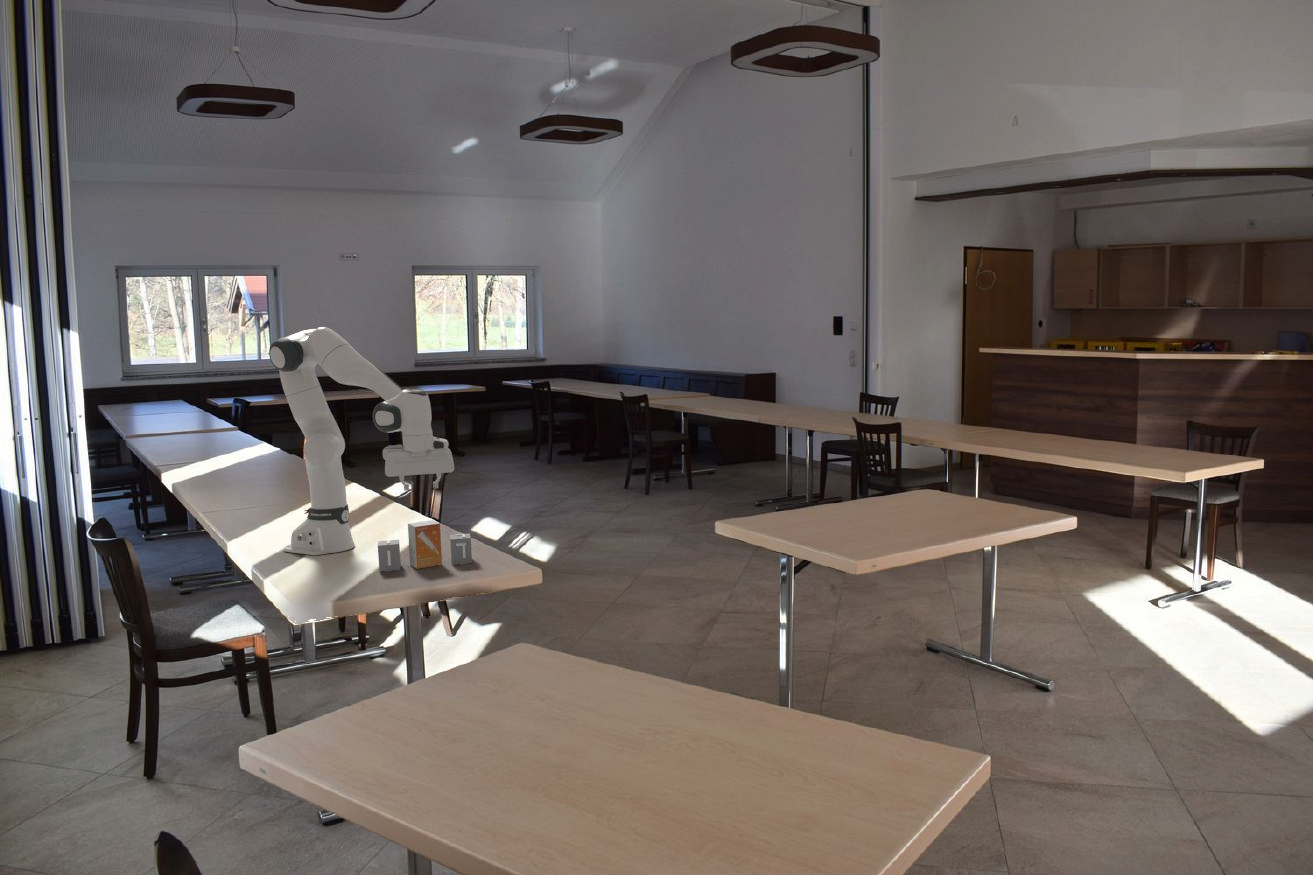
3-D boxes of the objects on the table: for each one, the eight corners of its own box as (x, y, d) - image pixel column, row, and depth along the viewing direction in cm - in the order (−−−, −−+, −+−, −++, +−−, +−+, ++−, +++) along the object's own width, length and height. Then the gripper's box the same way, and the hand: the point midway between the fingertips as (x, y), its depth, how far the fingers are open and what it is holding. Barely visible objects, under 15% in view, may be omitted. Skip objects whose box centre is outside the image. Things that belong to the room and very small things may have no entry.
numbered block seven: (451, 565, 293) (450, 538, 292) (451, 560, 299) (449, 534, 298) (472, 563, 295) (470, 537, 294) (471, 558, 301) (469, 532, 300)
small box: (417, 569, 290) (414, 526, 288) (409, 565, 295) (407, 523, 293) (442, 564, 294) (440, 522, 292) (435, 560, 299) (432, 519, 298)
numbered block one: (379, 572, 288) (377, 544, 287) (380, 566, 294) (378, 540, 293) (400, 570, 289) (398, 543, 288) (400, 565, 295) (399, 538, 294)
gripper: (381, 447, 284) (385, 493, 286) (452, 442, 289) (455, 488, 291) (382, 444, 290) (385, 489, 292) (452, 439, 295) (455, 484, 297)
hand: (421, 489), depth 291 cm, fingers open, 7 cm apart
